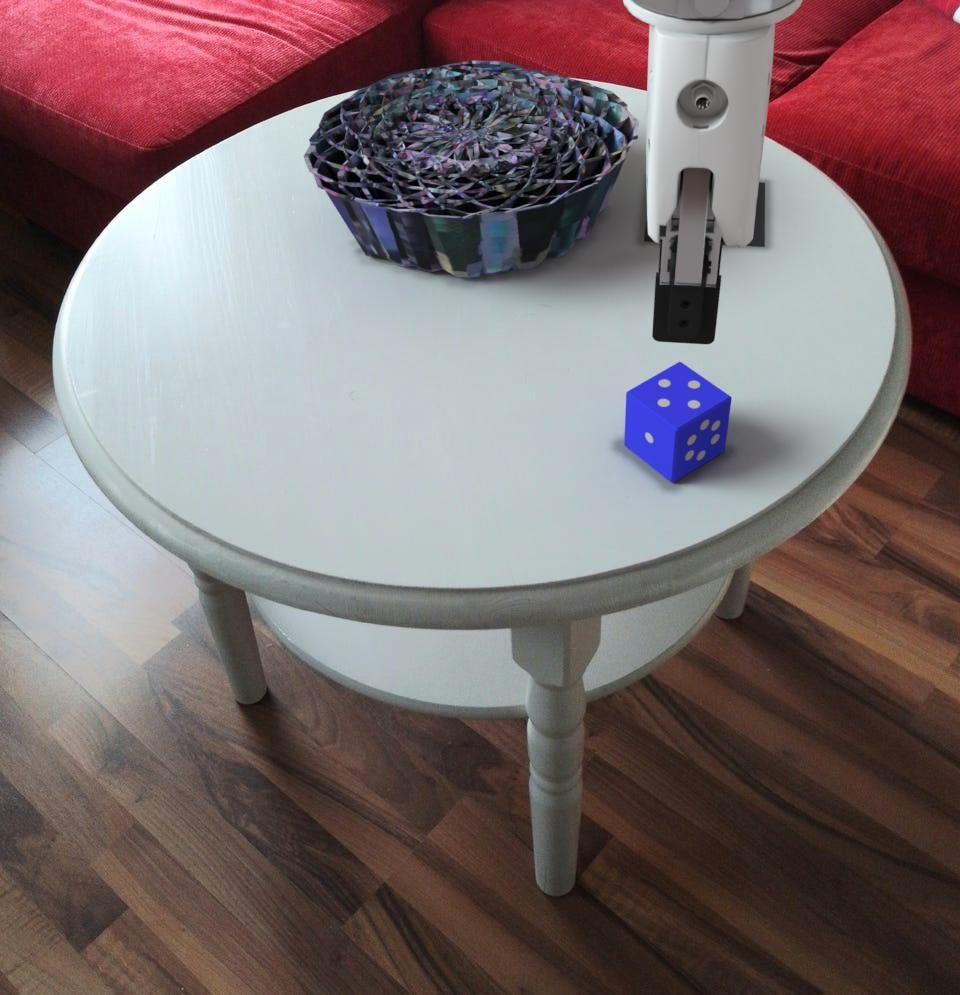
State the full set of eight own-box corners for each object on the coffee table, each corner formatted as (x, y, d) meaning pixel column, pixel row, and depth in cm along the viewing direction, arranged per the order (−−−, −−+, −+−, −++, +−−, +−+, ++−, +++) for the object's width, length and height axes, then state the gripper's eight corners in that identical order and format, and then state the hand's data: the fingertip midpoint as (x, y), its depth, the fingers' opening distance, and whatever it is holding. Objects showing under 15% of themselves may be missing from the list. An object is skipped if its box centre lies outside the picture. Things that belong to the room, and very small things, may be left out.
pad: (764, 183, 99) (764, 182, 98) (764, 247, 92) (764, 246, 92) (652, 179, 100) (652, 178, 100) (643, 242, 94) (643, 241, 93)
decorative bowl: (404, 144, 111) (384, 47, 104) (671, 159, 101) (669, 53, 95) (285, 290, 95) (252, 187, 88) (589, 324, 86) (579, 212, 79)
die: (622, 445, 77) (624, 391, 73) (675, 414, 78) (680, 359, 75) (672, 484, 74) (677, 430, 70) (726, 451, 76) (733, 396, 72)
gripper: (813, 51, 39) (755, 426, 53) (804, -111, 50) (757, 234, 64) (604, 48, 41) (598, 415, 54) (639, -109, 52) (627, 229, 65)
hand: (685, 314), depth 59 cm, fingers open, 3 cm apart
